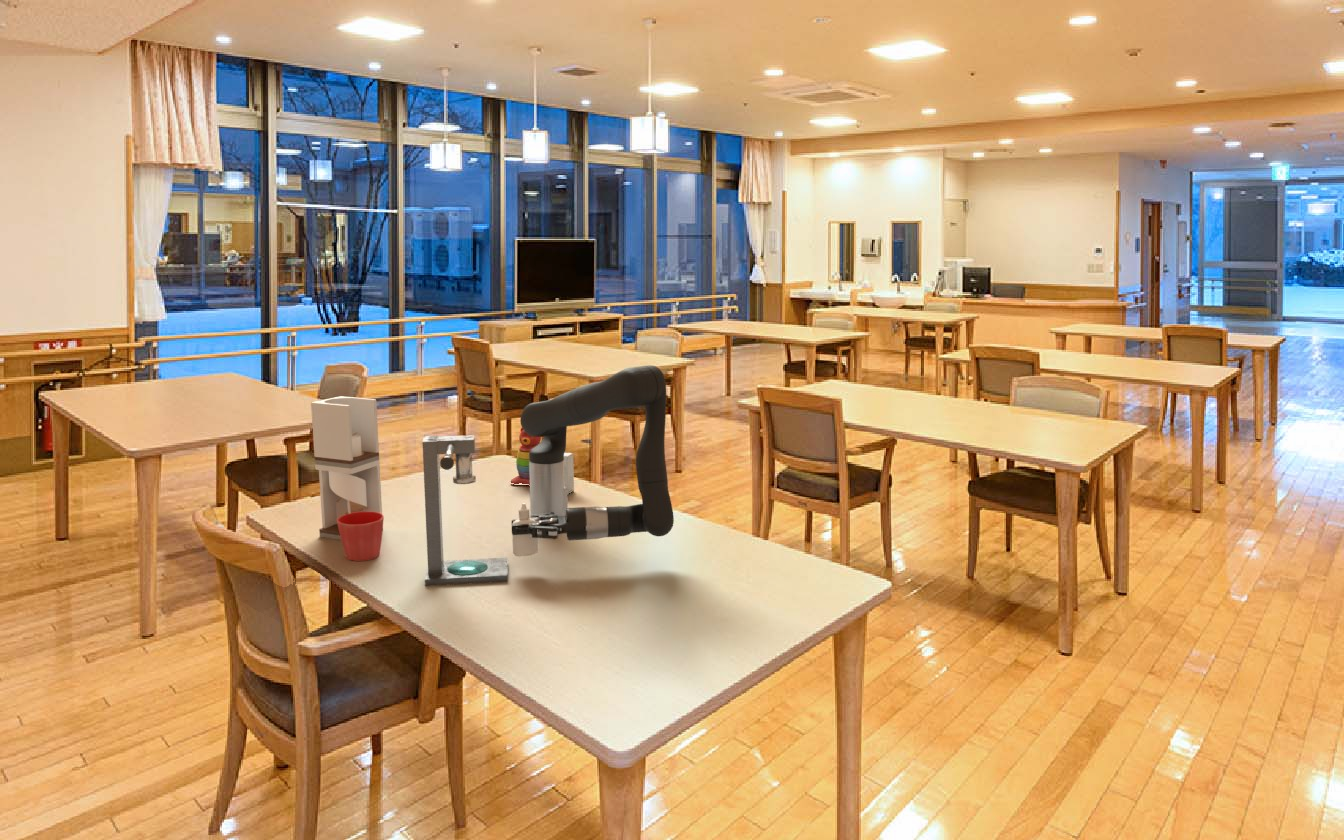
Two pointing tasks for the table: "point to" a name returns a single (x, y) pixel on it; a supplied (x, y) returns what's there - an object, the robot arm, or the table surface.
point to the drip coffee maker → (346, 458)
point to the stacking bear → (524, 457)
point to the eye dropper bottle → (524, 535)
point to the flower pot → (361, 534)
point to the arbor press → (437, 567)
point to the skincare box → (568, 472)
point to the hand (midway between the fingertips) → (512, 527)
